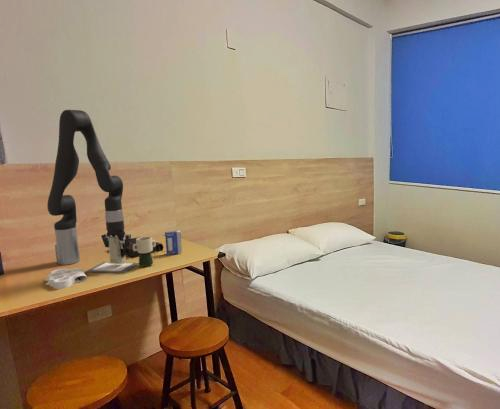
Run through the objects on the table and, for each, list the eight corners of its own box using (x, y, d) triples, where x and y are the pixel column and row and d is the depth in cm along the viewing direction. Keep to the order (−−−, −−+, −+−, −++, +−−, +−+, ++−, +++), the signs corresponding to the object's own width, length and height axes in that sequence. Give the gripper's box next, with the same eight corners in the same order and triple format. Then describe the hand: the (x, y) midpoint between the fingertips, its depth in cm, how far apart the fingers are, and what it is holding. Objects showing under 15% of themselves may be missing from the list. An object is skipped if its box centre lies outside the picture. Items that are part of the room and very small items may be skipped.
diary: (141, 244, 194) (140, 236, 193) (163, 251, 176) (163, 242, 176) (110, 251, 180) (109, 242, 180) (131, 259, 163) (130, 249, 163)
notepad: (85, 272, 145) (85, 270, 145) (103, 262, 158) (103, 261, 158) (124, 273, 142) (124, 271, 142) (139, 263, 155) (139, 262, 154)
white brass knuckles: (88, 283, 133) (46, 293, 124) (81, 271, 147) (43, 279, 139) (87, 275, 132) (45, 284, 124) (80, 264, 147) (42, 272, 138)
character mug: (154, 261, 158) (151, 235, 156) (160, 264, 153) (158, 237, 151) (131, 266, 151) (129, 239, 149) (137, 270, 146) (135, 241, 144)
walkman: (166, 255, 167) (165, 232, 165) (166, 253, 170) (165, 231, 168) (182, 253, 169) (180, 231, 167) (182, 252, 172) (180, 230, 170)
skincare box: (118, 264, 147) (116, 238, 145) (110, 263, 148) (107, 237, 146) (126, 259, 153) (124, 234, 151) (118, 259, 154) (116, 234, 152)
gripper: (95, 221, 145) (99, 258, 147) (124, 221, 143) (128, 259, 145) (105, 218, 152) (108, 253, 155) (133, 218, 150) (136, 254, 152)
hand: (118, 255), depth 150 cm, fingers closed on skincare box, 4 cm apart
